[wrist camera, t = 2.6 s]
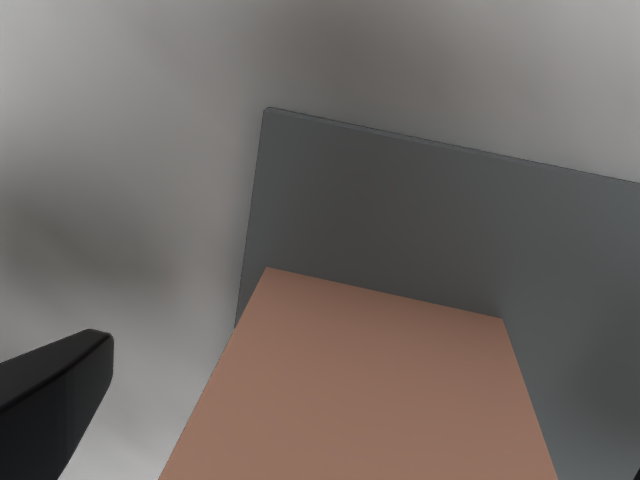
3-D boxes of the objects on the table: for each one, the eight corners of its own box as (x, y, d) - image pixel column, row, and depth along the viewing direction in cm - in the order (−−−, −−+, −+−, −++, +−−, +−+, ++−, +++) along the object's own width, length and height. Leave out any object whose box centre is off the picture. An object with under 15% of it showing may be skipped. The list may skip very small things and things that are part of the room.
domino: (479, 380, 12) (612, 972, 5) (256, 330, 12) (43, 815, 5) (502, 319, 11) (699, 892, 4) (266, 266, 11) (37, 716, 4)
